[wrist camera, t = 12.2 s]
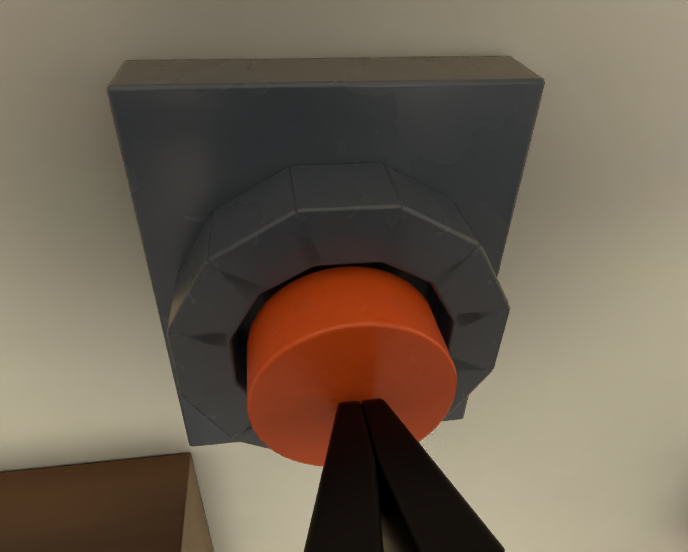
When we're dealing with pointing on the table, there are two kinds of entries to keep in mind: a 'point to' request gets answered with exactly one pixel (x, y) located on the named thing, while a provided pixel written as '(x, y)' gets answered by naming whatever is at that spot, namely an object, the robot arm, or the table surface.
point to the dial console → (105, 508)
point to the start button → (344, 358)
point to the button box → (319, 198)
